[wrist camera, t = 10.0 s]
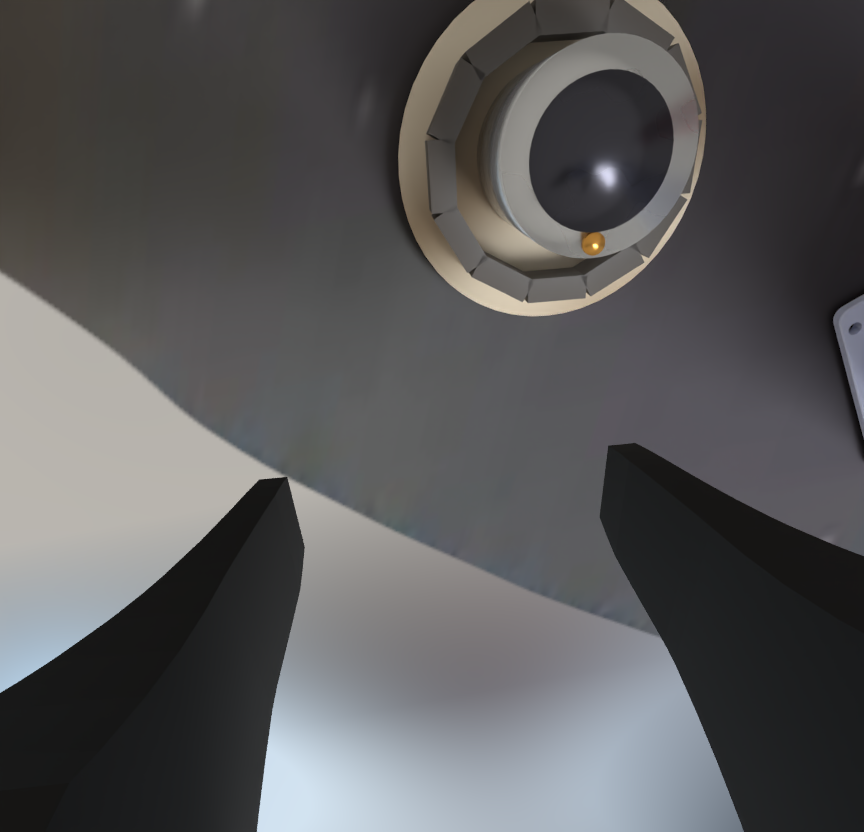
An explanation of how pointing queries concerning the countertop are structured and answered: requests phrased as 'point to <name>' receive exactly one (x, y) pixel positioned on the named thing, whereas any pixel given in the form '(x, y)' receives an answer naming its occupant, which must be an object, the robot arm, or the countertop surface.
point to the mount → (458, 140)
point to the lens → (590, 145)
